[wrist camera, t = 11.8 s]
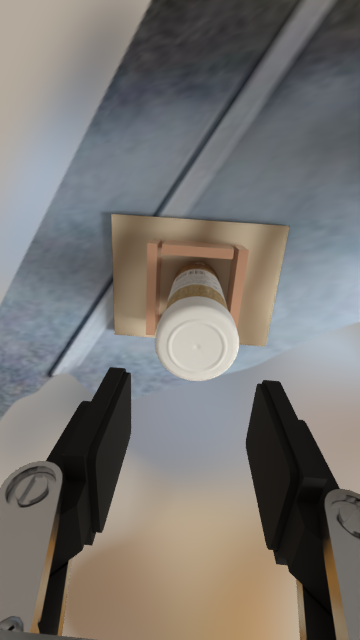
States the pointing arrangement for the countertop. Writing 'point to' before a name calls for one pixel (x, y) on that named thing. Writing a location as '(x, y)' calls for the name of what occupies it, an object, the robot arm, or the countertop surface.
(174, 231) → the stand board
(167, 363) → the sprinkles bottle
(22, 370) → the countertop surface
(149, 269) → the collar
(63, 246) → the countertop surface
